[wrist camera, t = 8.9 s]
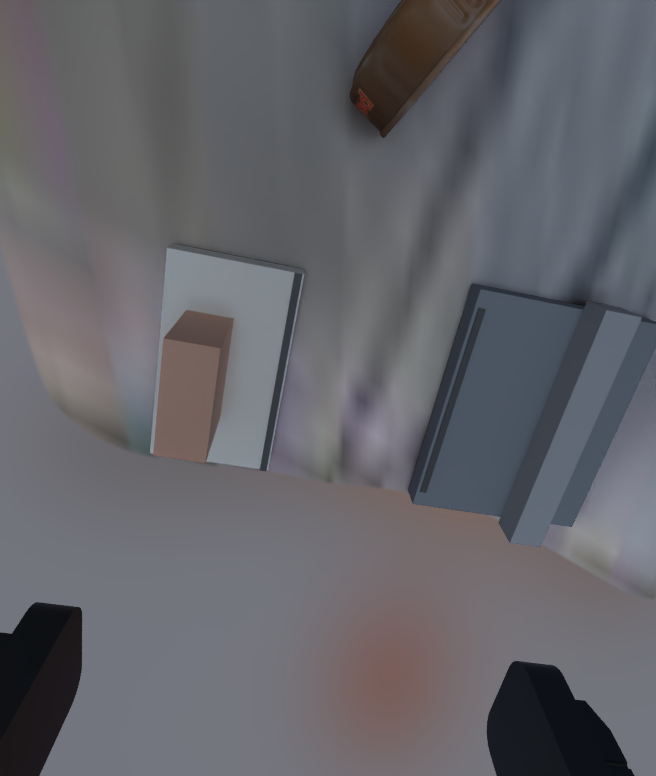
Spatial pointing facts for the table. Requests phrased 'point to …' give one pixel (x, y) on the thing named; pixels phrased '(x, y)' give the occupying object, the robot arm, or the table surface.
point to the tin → (412, 55)
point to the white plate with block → (222, 356)
